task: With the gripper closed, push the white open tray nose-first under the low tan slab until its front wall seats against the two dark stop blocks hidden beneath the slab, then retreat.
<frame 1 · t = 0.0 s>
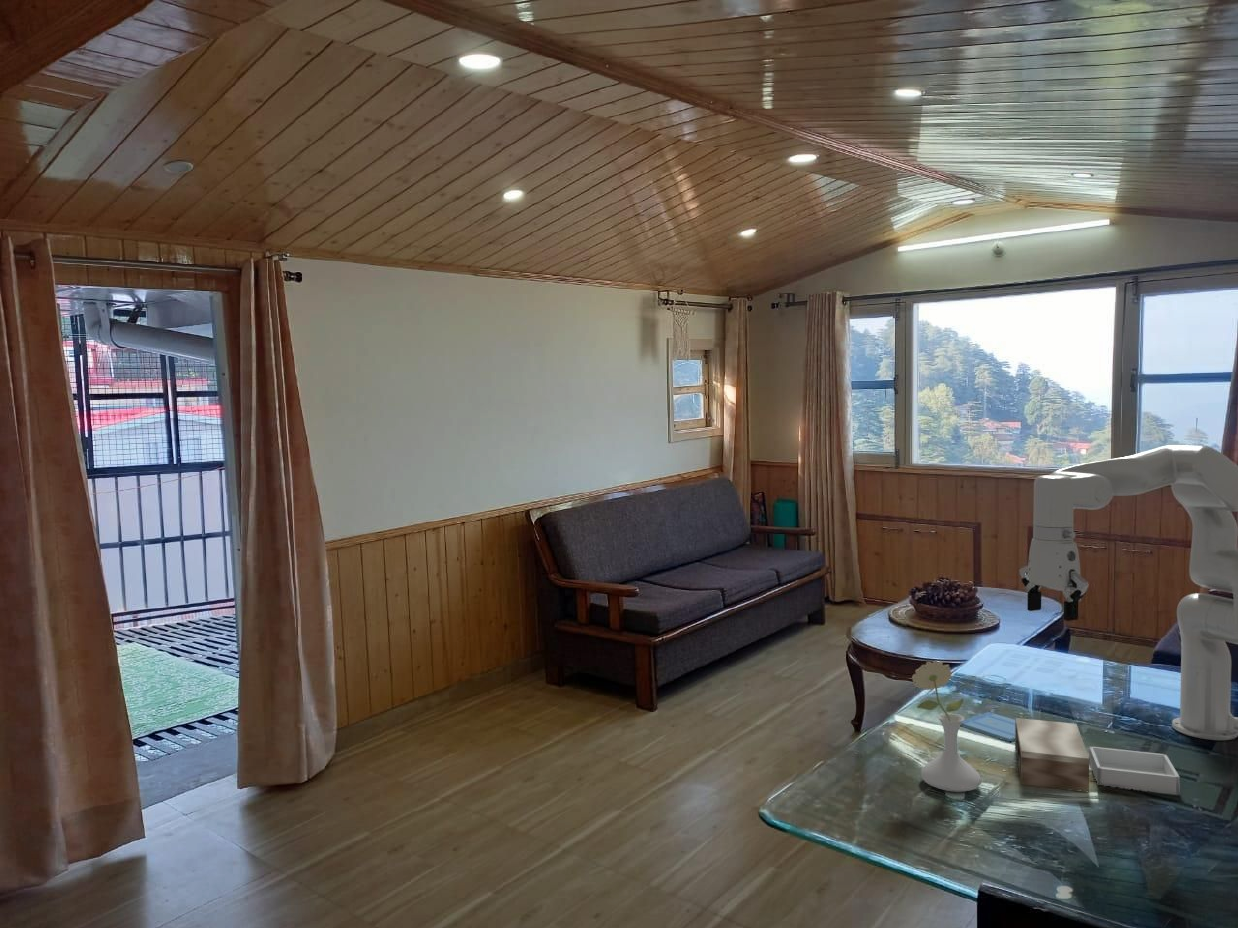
hand: (1052, 614, 185), 31 cm above the table, tool pointing down, fingers open, 9 cm apart
tan slab: (1049, 768, 183), on the table
flower in vase: (946, 785, 176), on the table
blue flat rectangular slab: (997, 730, 206), on the table
white open tray: (1132, 777, 177), on the table
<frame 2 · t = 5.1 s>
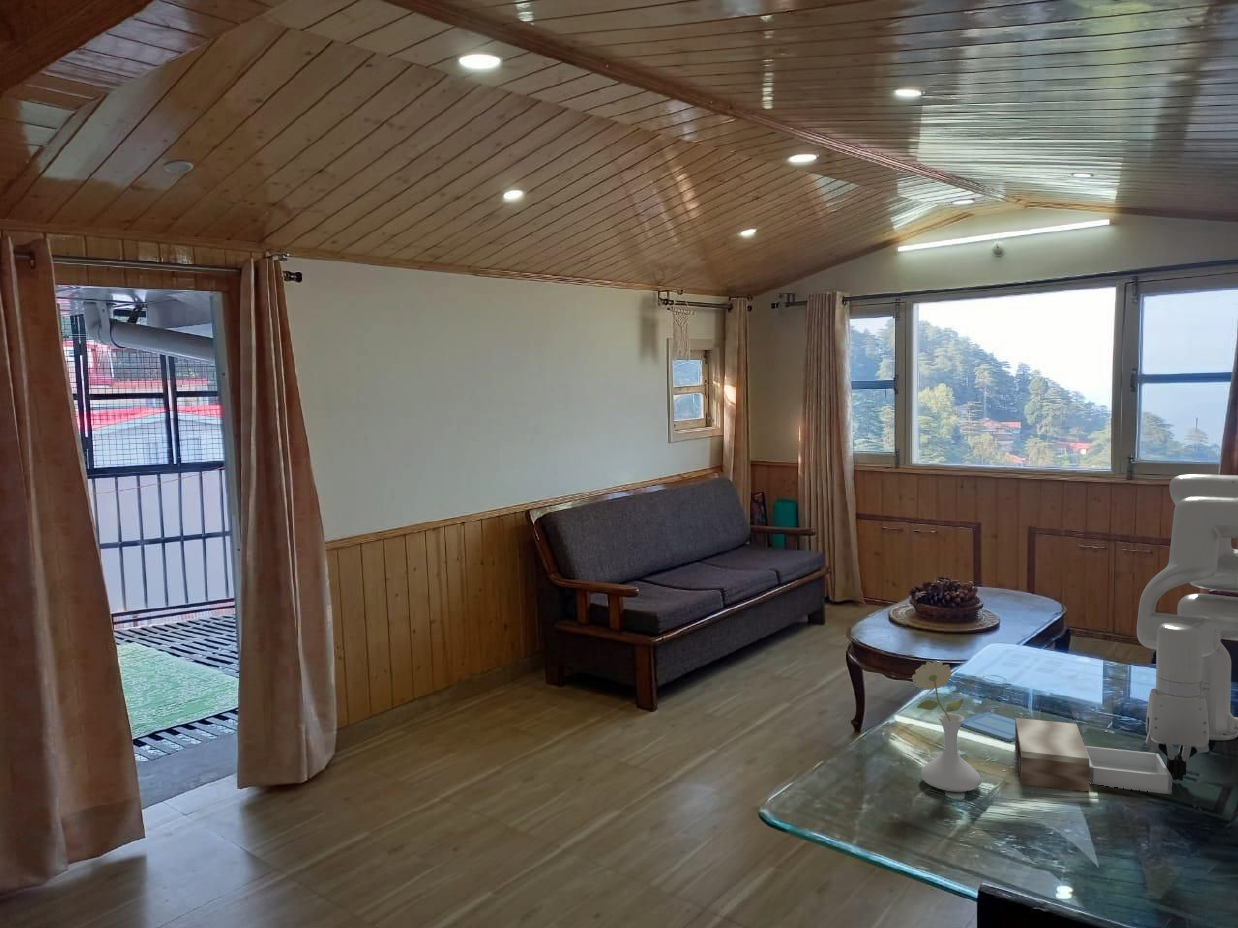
hand: (1176, 777, 174), 1 cm above the table, tool pointing down, fingers closed
white open tray: (1124, 777, 178), on the table, touching gripper
everything else where it was.
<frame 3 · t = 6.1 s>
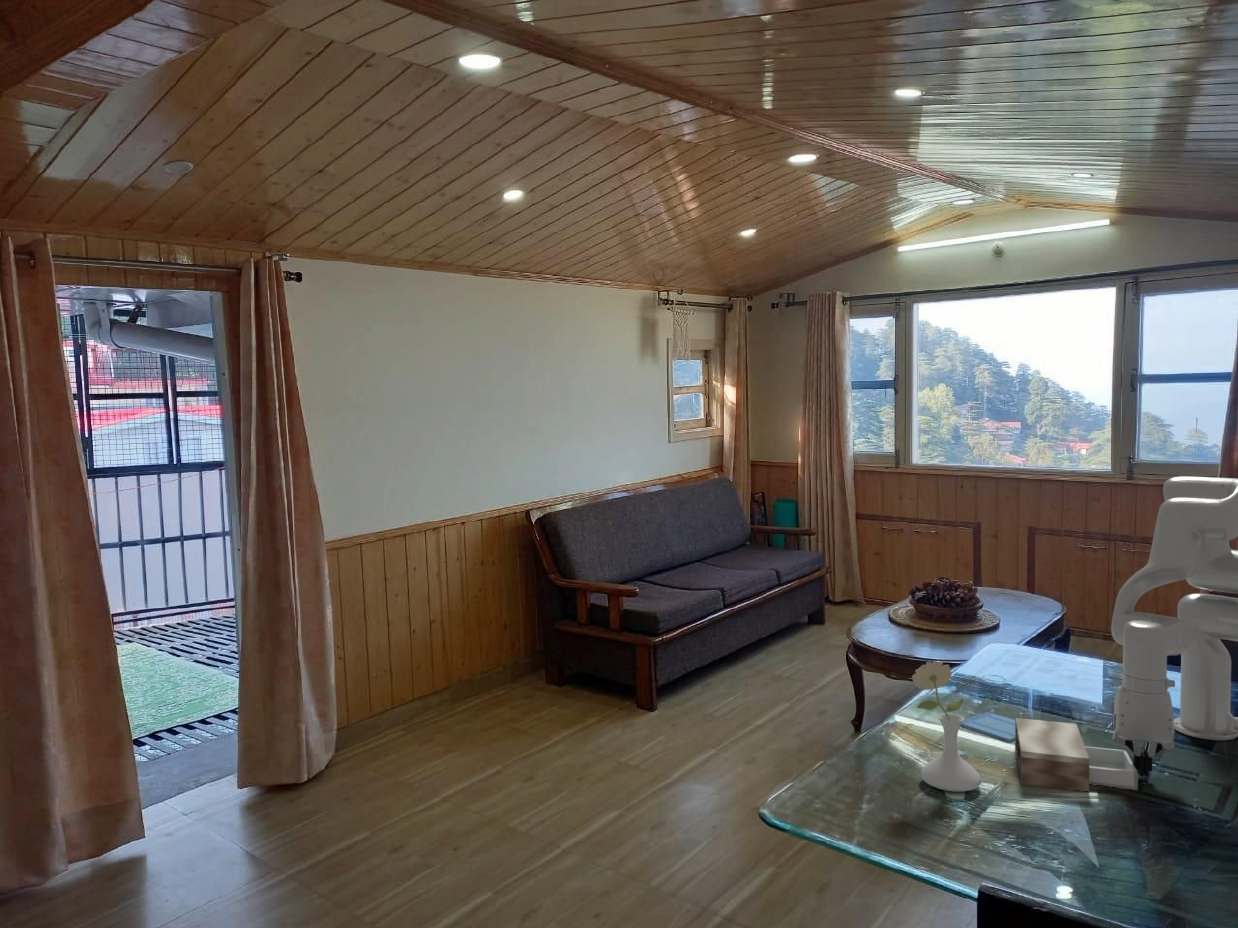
hand: (1142, 773, 176), 1 cm above the table, tool pointing down, fingers closed
white open tray: (1092, 773, 180), on the table, touching gripper
everything else where it was.
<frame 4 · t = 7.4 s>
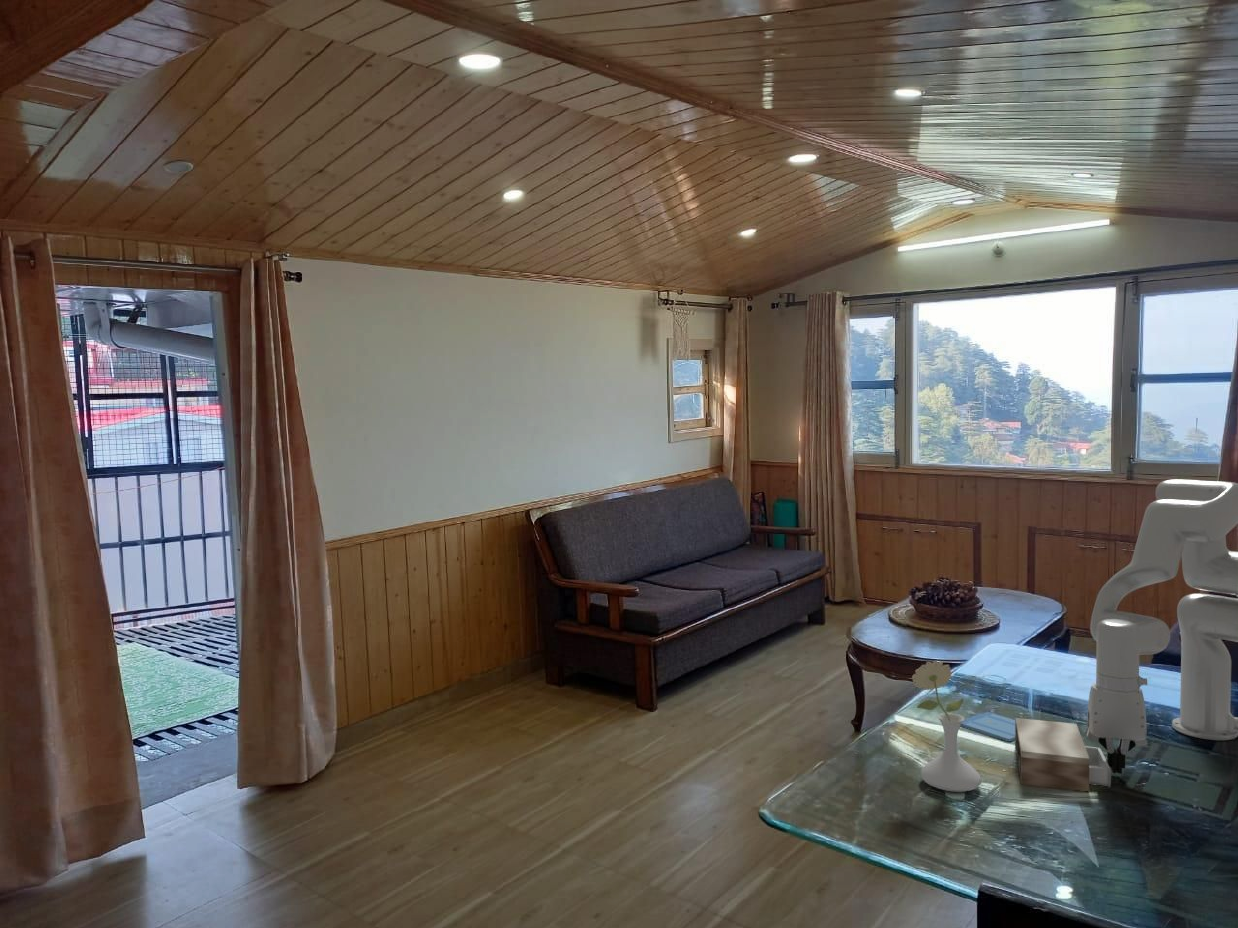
hand: (1116, 770, 178), 1 cm above the table, tool pointing down, fingers closed
white open tray: (1066, 770, 181), on the table, touching gripper, tan slab
everything else where it was.
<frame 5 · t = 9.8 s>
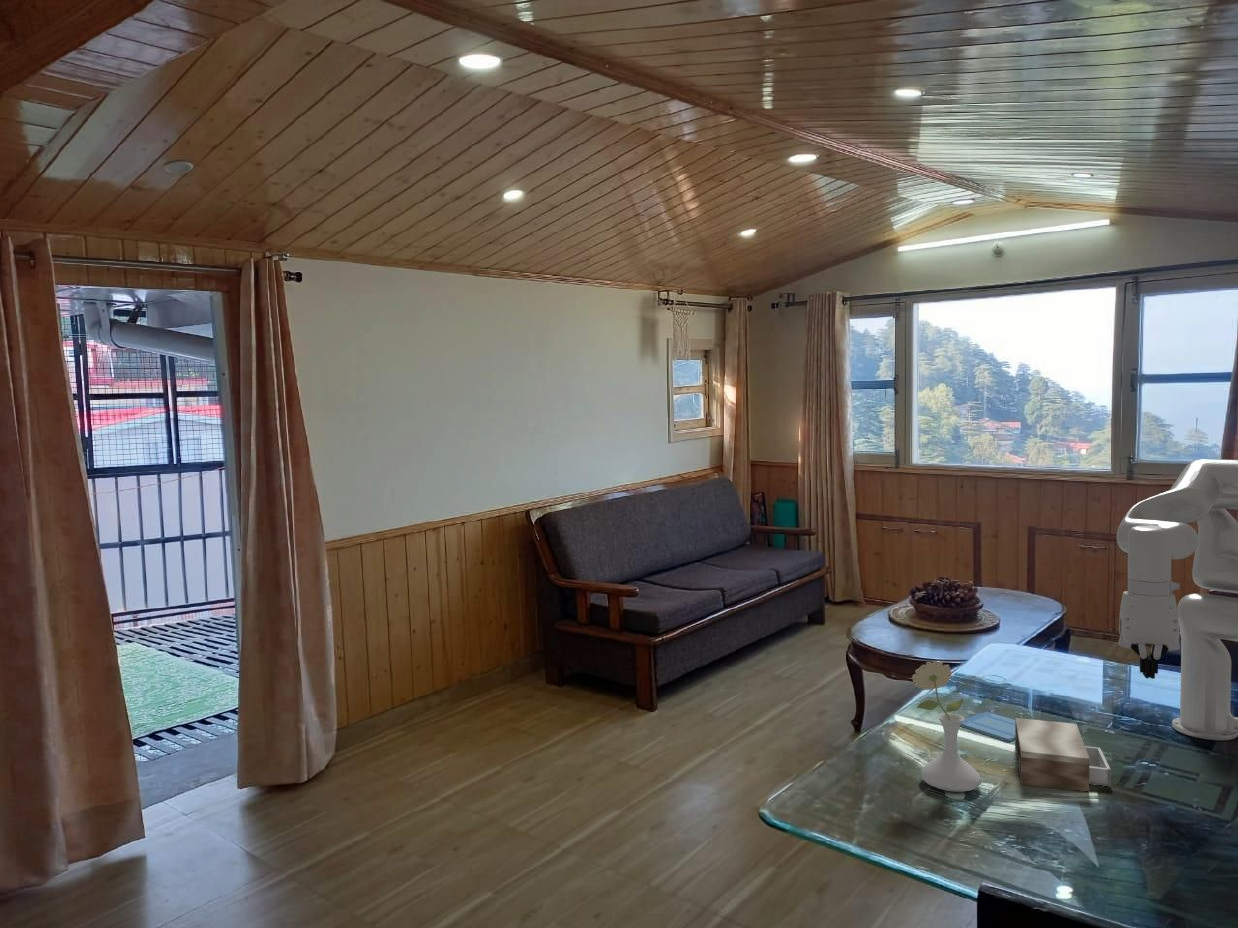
hand: (1148, 676, 179), 20 cm above the table, tool pointing down, fingers closed
white open tray: (1066, 770, 181), on the table
everything else where it was.
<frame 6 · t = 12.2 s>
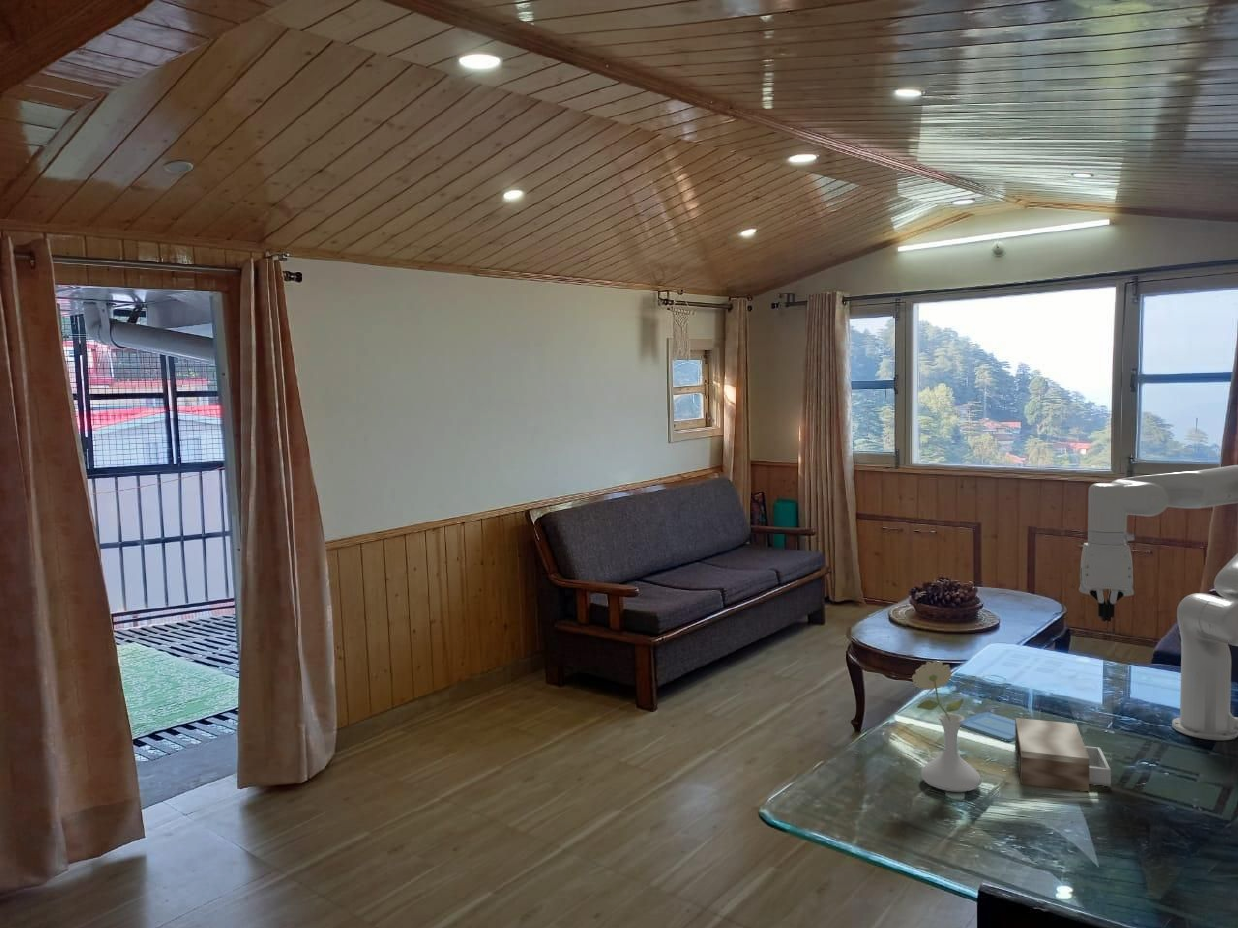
hand: (1105, 619, 197), 27 cm above the table, tool pointing down, fingers closed
nothing on the table moved.
at the end: white open tray inside the target area (0.5 cm from its centre), on the table; white open tray moved 11.9 cm from its start; white open tray tilted 0° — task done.
